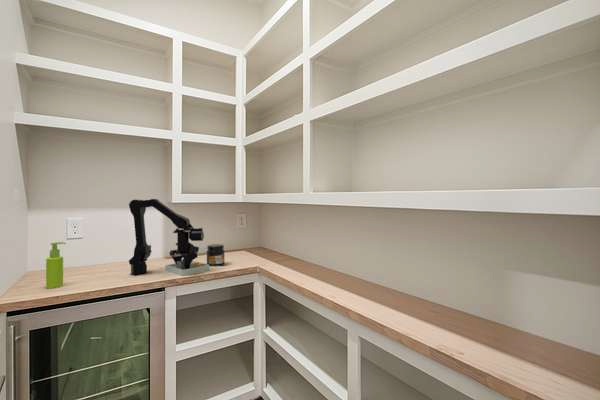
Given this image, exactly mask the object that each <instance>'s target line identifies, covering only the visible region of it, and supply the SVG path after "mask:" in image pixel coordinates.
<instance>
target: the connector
mask: <svg viewBox="0 0 600 400" xmlns="http://www.w3.org/2000/svg"><path fill="white" fill-rule="evenodd" d="M177 268H179V269H182V270H185V267H184V263H183V260H182V261H177ZM190 268H194V263H191V264H190V267H189V269H190Z"/></svg>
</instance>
